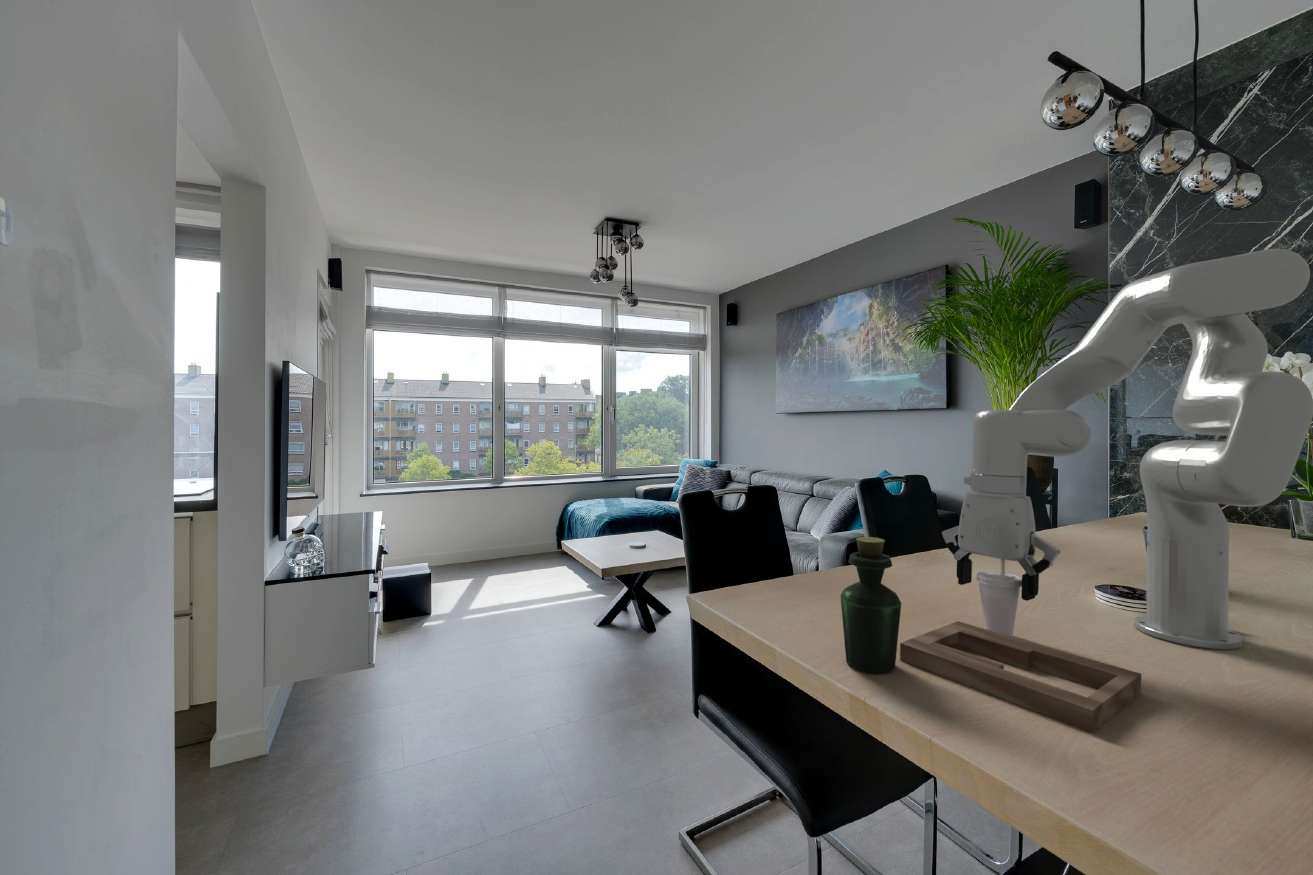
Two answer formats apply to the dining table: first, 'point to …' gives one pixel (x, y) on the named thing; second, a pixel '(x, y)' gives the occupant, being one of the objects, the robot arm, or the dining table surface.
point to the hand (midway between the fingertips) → (995, 590)
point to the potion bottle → (870, 611)
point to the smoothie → (999, 599)
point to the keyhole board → (990, 677)
